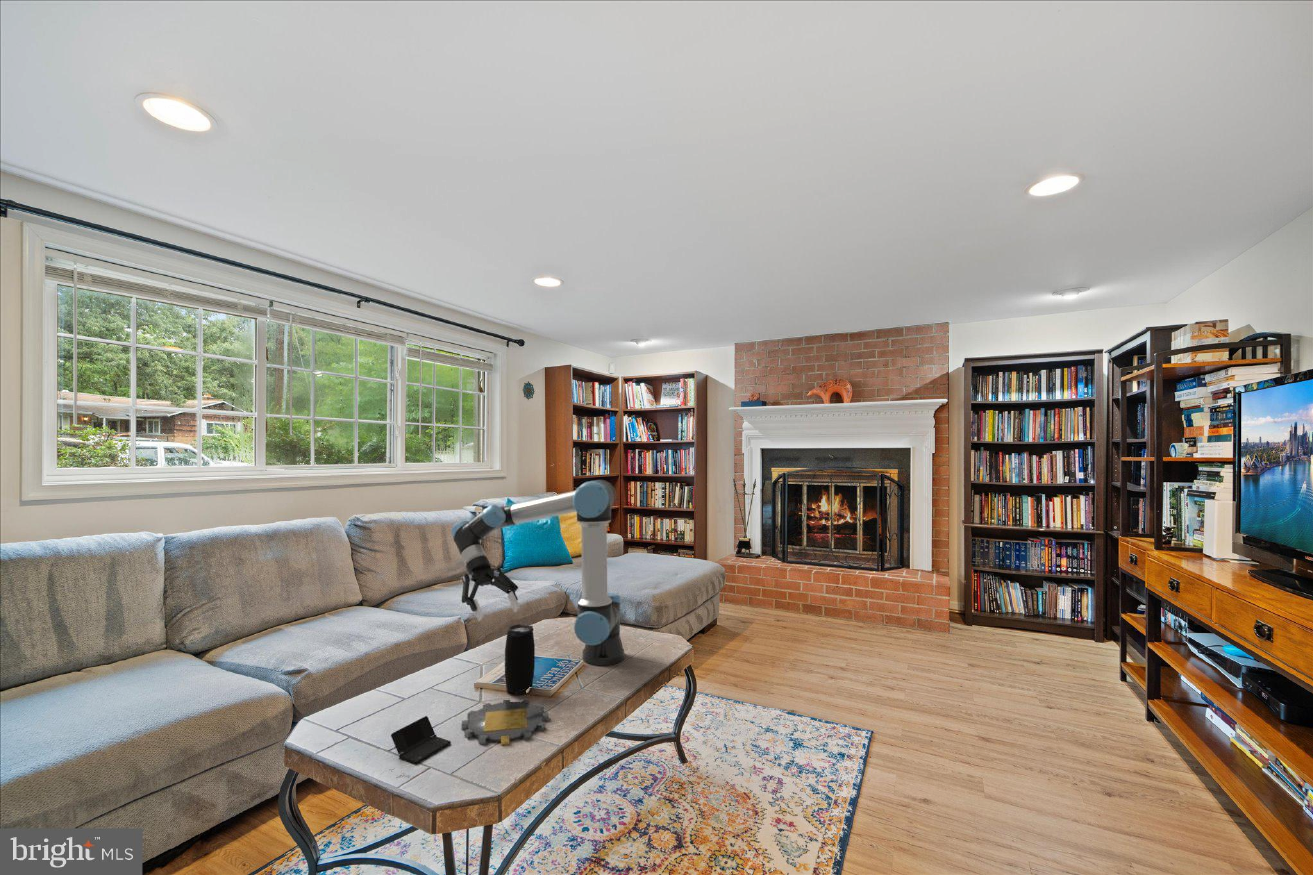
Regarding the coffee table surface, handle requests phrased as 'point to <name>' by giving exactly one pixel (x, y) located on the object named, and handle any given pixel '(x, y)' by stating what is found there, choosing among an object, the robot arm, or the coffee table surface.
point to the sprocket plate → (505, 722)
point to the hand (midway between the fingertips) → (500, 614)
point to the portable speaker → (519, 659)
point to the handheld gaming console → (418, 741)
